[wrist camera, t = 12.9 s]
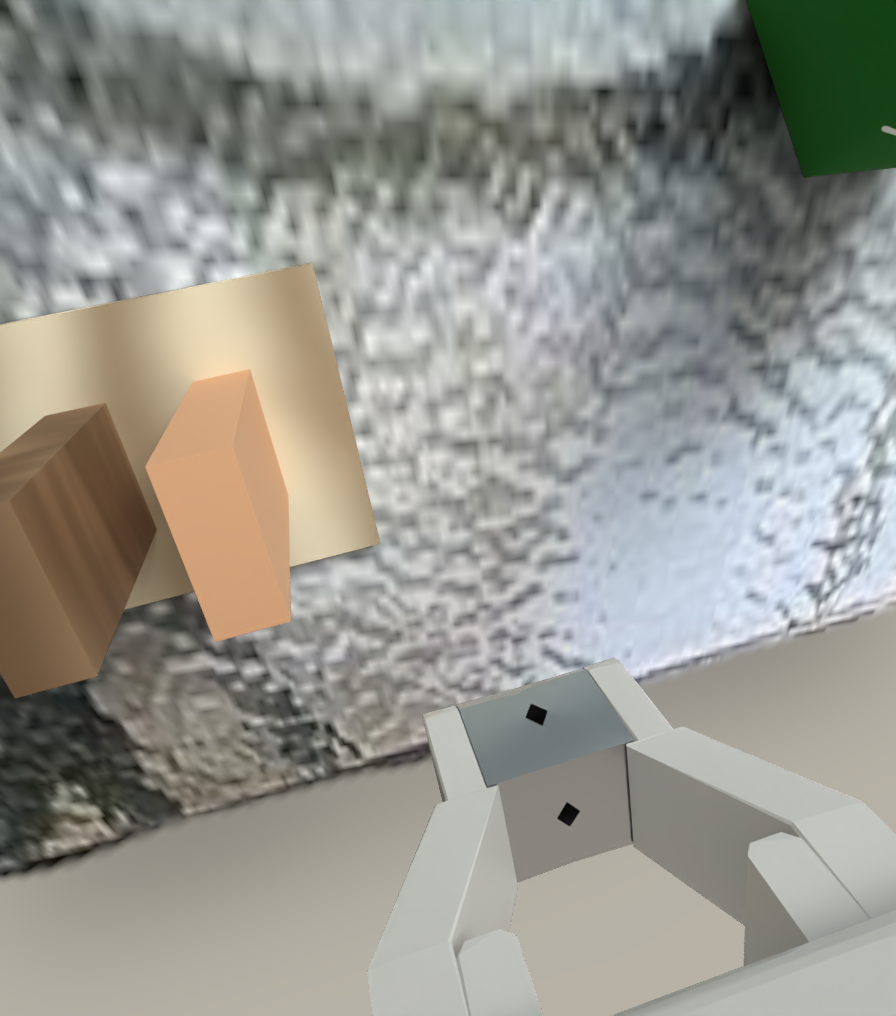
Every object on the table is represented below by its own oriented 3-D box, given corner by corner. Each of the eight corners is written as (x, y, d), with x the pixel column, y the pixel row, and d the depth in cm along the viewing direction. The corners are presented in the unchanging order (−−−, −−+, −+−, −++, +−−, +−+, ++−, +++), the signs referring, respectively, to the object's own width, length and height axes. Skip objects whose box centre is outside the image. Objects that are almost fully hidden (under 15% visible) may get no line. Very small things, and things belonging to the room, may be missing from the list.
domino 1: (105, 402, 23) (8, 501, 15) (157, 529, 25) (97, 676, 17) (45, 415, 23) (-87, 523, 15) (102, 542, 25) (15, 698, 17)
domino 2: (250, 368, 23) (232, 446, 15) (288, 495, 26) (290, 621, 18) (192, 381, 23) (145, 466, 15) (236, 508, 25) (214, 642, 17)
